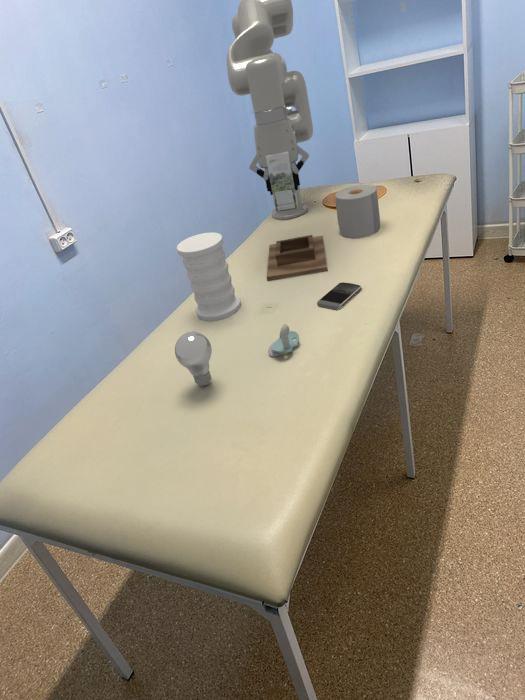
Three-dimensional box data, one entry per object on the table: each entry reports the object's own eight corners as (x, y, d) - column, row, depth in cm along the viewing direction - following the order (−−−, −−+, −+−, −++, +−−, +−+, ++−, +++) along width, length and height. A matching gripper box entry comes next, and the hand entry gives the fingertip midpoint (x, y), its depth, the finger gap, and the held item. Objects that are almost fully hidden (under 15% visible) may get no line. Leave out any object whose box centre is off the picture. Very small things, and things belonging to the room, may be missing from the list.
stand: (270, 248, 150) (267, 235, 148) (323, 239, 148) (321, 225, 145) (267, 281, 132) (264, 266, 130) (327, 271, 130) (325, 256, 127)
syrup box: (298, 202, 133) (288, 145, 125) (297, 209, 128) (287, 151, 121) (277, 205, 134) (266, 150, 127) (276, 213, 129) (264, 155, 122)
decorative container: (229, 292, 131) (212, 228, 121) (249, 307, 122) (231, 239, 112) (189, 309, 128) (168, 244, 118) (207, 326, 118) (185, 257, 109)
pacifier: (263, 358, 103) (288, 361, 100) (255, 333, 100) (282, 335, 97) (278, 339, 108) (303, 341, 105) (272, 314, 105) (297, 315, 101)
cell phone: (363, 290, 118) (363, 284, 117) (338, 313, 112) (337, 307, 111) (341, 286, 122) (340, 281, 121) (316, 308, 116) (315, 303, 115)
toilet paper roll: (386, 222, 148) (383, 183, 142) (371, 239, 141) (367, 199, 134) (349, 222, 155) (344, 185, 148) (332, 238, 147) (327, 199, 141)
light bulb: (208, 399, 95) (190, 347, 88) (181, 392, 99) (162, 342, 92) (228, 377, 99) (213, 326, 93) (201, 371, 103) (185, 322, 97)
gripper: (305, 106, 121) (316, 180, 131) (237, 121, 124) (253, 193, 133) (306, 111, 115) (318, 188, 125) (234, 127, 118) (251, 201, 127)
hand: (284, 190), depth 129 cm, fingers closed on syrup box, 5 cm apart
